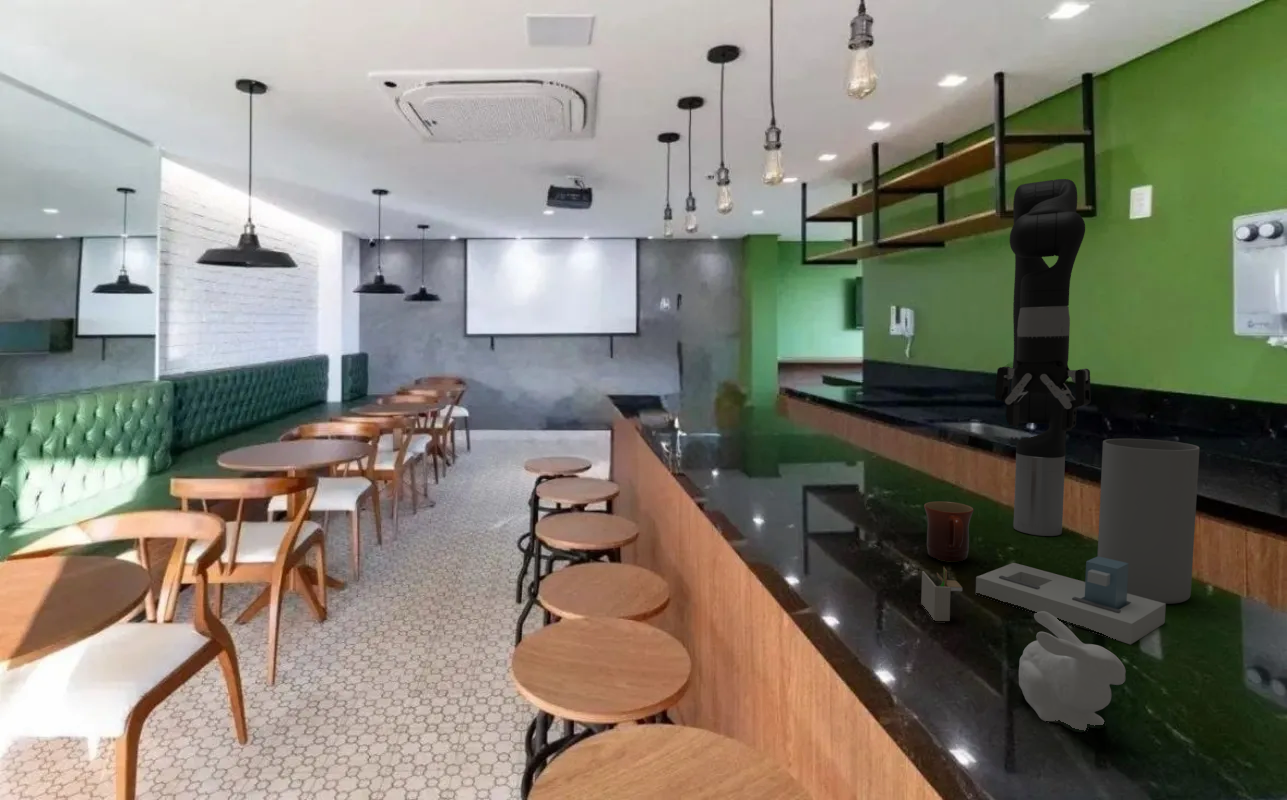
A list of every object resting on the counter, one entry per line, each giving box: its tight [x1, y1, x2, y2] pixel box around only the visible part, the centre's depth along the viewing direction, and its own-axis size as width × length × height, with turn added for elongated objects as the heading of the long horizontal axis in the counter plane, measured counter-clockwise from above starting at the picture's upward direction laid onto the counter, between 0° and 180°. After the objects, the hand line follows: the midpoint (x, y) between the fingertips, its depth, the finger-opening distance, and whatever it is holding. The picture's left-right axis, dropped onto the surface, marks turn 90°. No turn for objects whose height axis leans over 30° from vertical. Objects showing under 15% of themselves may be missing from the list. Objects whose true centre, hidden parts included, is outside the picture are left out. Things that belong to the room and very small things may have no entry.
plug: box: [1084, 555, 1129, 609], centre depth 96 cm, size 5×4×9 cm
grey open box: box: [920, 566, 963, 622], centre depth 100 cm, size 4×7×8 cm, turn 172°
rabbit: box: [1018, 611, 1127, 731], centre depth 73 cm, size 12×9×12 cm
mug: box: [923, 501, 974, 562], centre depth 123 cm, size 12×9×10 cm
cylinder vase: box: [1097, 438, 1200, 605], centre depth 106 cm, size 12×12×25 cm
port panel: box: [975, 562, 1167, 645], centre depth 101 cm, size 12×22×3 cm, turn 33°
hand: (1039, 427), depth 110 cm, fingers open, 8 cm apart
